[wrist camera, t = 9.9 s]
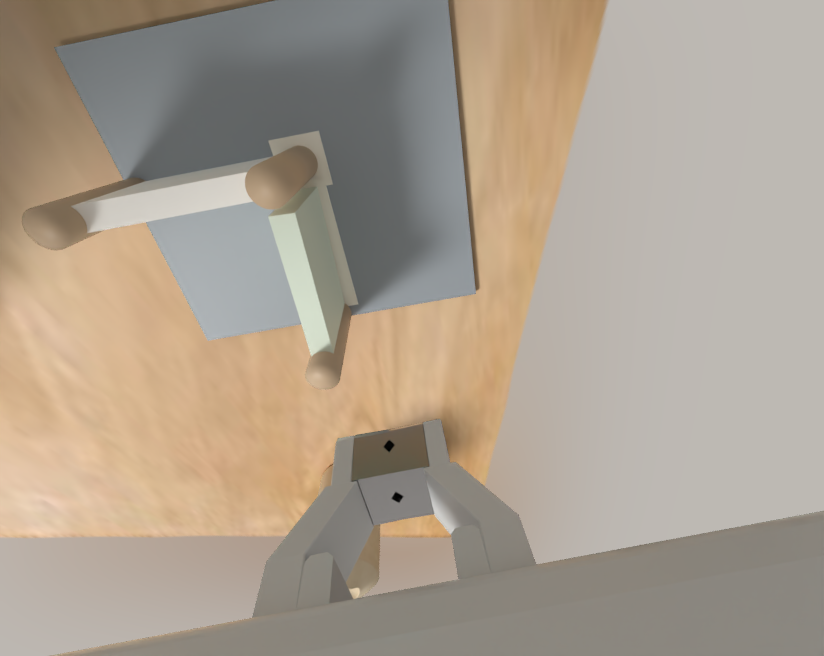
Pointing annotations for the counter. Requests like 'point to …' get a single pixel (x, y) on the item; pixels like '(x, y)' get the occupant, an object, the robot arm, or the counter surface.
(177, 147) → the board
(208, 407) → the counter surface
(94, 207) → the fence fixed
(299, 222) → the fence panel
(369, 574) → the candle
